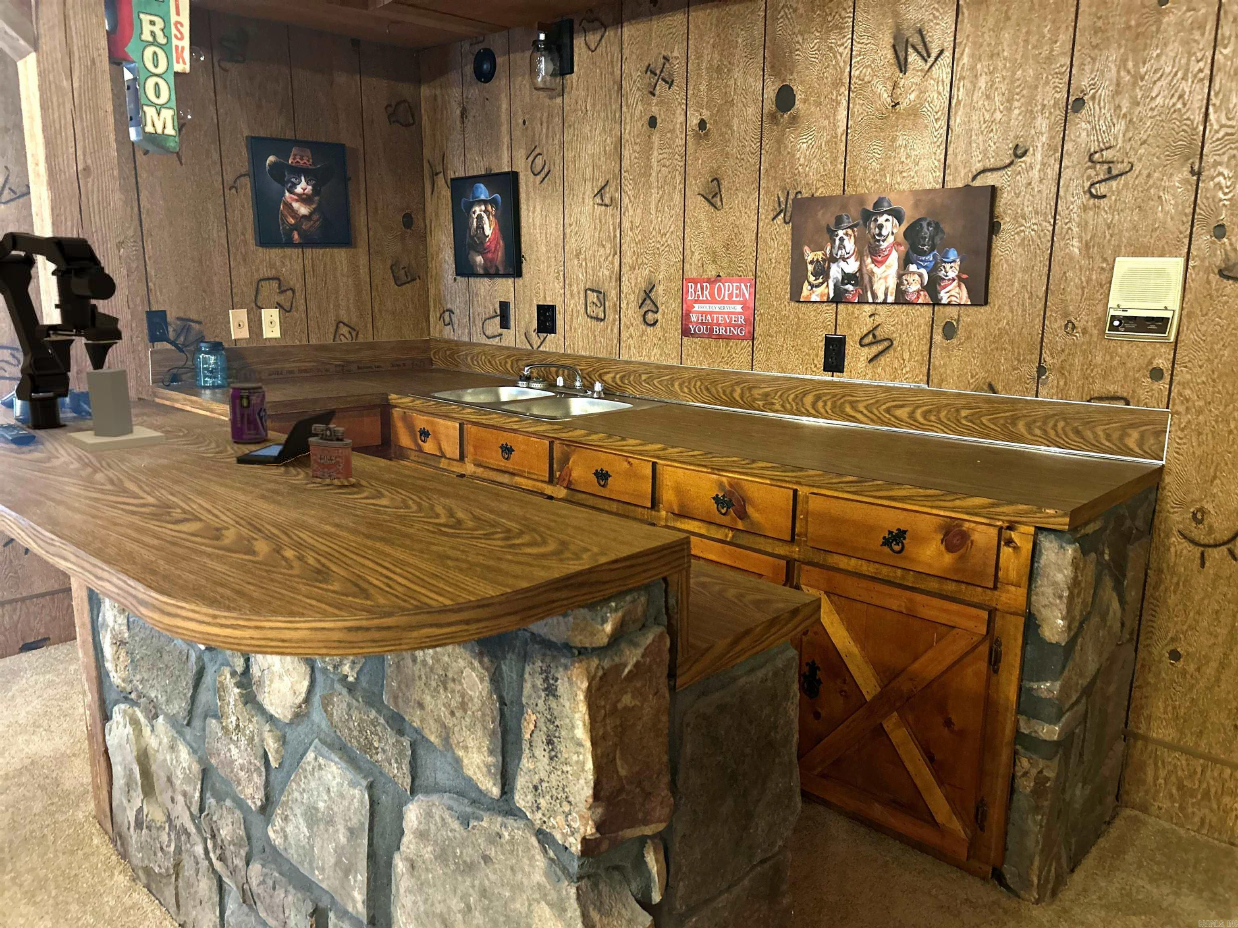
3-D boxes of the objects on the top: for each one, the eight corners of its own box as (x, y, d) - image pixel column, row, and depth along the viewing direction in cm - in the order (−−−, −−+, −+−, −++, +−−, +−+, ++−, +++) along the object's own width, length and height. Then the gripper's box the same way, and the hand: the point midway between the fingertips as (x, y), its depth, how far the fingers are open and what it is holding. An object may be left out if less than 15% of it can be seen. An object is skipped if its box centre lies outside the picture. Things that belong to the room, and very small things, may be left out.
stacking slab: (67, 445, 182) (66, 433, 182) (140, 437, 192) (139, 425, 192) (90, 455, 173) (89, 443, 172) (166, 446, 183) (165, 434, 182)
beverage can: (255, 445, 183) (251, 387, 181) (224, 443, 184) (220, 385, 182) (275, 439, 190) (271, 383, 187) (245, 437, 191) (241, 381, 189)
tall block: (94, 436, 179) (85, 371, 177) (111, 431, 184) (103, 369, 181) (117, 436, 179) (109, 372, 176) (133, 432, 184) (125, 369, 181)
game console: (278, 449, 181) (275, 405, 179) (340, 453, 178) (338, 408, 177) (232, 465, 166) (229, 417, 164) (300, 469, 163) (297, 420, 162)
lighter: (358, 482, 153) (355, 425, 151) (346, 486, 150) (343, 428, 148) (318, 478, 155) (315, 421, 153) (306, 482, 152) (303, 424, 150)
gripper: (141, 299, 189) (147, 372, 192) (78, 297, 196) (86, 367, 199) (93, 300, 179) (101, 377, 182) (29, 298, 185) (38, 372, 189)
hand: (83, 373), depth 188 cm, fingers open, 9 cm apart
